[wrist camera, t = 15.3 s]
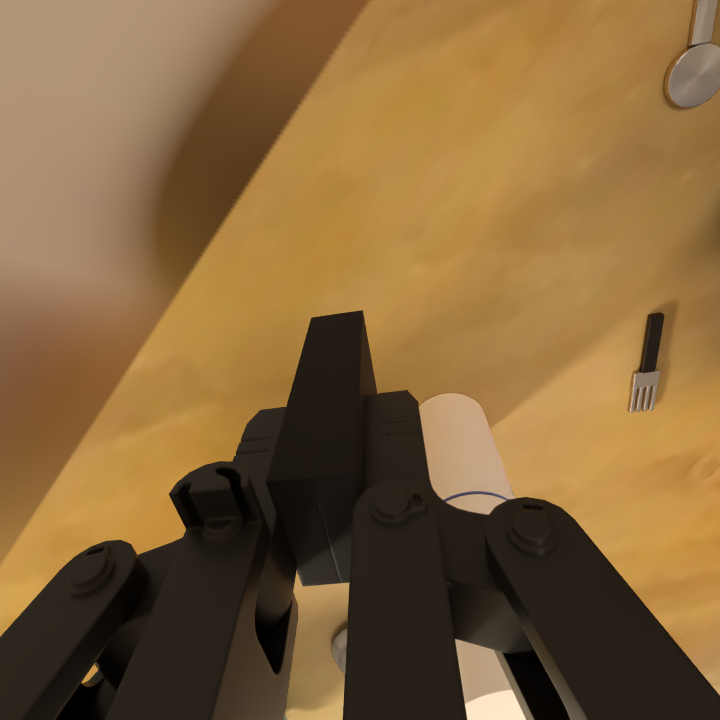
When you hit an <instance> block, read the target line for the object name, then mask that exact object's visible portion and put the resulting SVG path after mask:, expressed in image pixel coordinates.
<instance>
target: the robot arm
mask: <svg viewBox="0 0 720 720" xmlns="http://www.w3.org/2000/svg"><path fill="white" fill-rule="evenodd" d="M169 496H170V498H171V500H172V502H173V504H174V506H175V508H176V510H177V512H178V514H179V516H180V518H181V520H182V522H183V524H184V525H185V527H186V532H185V534H184V536H183V538H181V539H178V540H176V541H174V542H172V543H169V544H166V545H164V546H161V547H158V548H155V549H153V550H150V551H147V552H144V553H142V554H139V555H137V554H136V552H135V550H134V549H133V547H132V545H131V544H129V543H127V542H125V541H122V540H113V541H105V542H102V543H100V544H97V545H94V546H91V547H90V548H88V549H86V550H85V551H83V552H81V553H80V554H78V555H77V556H75V557H74V558H73V559H72V560H71V561H69V562H68V563H67V564H66V565H65V566H64V567H63V568H62V569H61V570H60V571H59V572H58V573H57V574H56V575H55V576H54V578H53V579H52V580H51V581H50V582H49V583H48V584H47V585H46V587H45V588H44V589H43V590H42V591H41V592H40V593H39V594H38V595H37V597H36V598H35V599H34V600H33V601H32V602H31V603H30V604H29V606H28V607H27V608H26V609H25V610H24V611H23V612H22V613H21V614H20V616H19V617H18V618H17V619H16V620H15V621H14V622H13V623H12V625H11V626H10V627H9V628H8V629H7V630H6V631H5V632H4V633H3V635H2V636H1V637H0V720H284V715H285V707H286V700H287V693H288V686H289V679H290V672H291V665H292V657H293V650H294V643H295V636H296V629H297V622H298V604H297V601H296V599H295V596H294V593H293V589H294V582H295V576H296V570H297V572H298V575H299V577H300V580H301V583H302V586H313V585H325V584H337V583H349V582H350V585H349V605H348V625H347V646H346V666H345V687H344V707H343V720H467V714H466V708H465V701H464V695H463V688H462V682H461V675H460V668H459V662H458V655H457V649H456V642H455V639H457V640H461V641H464V642H468V643H471V644H475V645H478V646H482V647H486V648H489V649H493V650H494V652H495V654H496V656H497V658H498V660H499V663H500V665H501V667H502V669H503V671H504V673H505V675H506V678H507V680H508V682H509V684H510V686H511V688H512V690H513V693H514V695H515V697H516V699H517V701H518V703H519V705H520V708H521V710H522V712H523V714H524V716H525V718H526V720H720V695H719V694H718V693H717V692H716V690H715V689H714V688H713V687H712V686H711V684H710V683H709V682H708V681H707V680H706V678H705V677H704V676H703V675H702V673H701V672H700V671H699V670H698V669H697V667H696V666H695V665H694V664H693V663H692V661H691V660H690V659H689V658H688V657H687V655H686V654H685V653H684V652H683V650H682V649H681V648H680V647H679V646H678V644H677V643H676V642H675V641H674V640H673V638H672V637H671V636H670V635H669V633H668V632H667V631H666V630H665V629H664V627H663V626H662V625H661V624H660V623H659V621H658V620H657V619H656V618H655V616H654V615H653V614H652V613H651V612H650V610H649V609H648V608H647V607H646V606H645V604H644V603H643V602H642V601H641V599H640V598H639V597H638V596H637V595H636V593H635V592H634V591H633V590H632V589H631V587H630V586H629V585H628V584H627V583H626V581H625V580H624V579H623V578H622V576H621V575H620V574H619V573H618V572H617V570H616V569H615V568H614V567H613V566H612V564H611V563H610V562H609V561H608V559H607V558H606V557H605V556H604V555H603V553H602V552H601V551H600V550H599V549H598V547H597V546H596V545H595V544H594V542H593V541H592V540H591V539H590V538H589V536H588V535H587V534H586V533H585V532H584V530H583V529H582V528H581V527H580V525H579V524H578V523H577V522H576V521H575V519H574V518H572V517H571V516H570V515H569V514H568V513H567V512H565V511H564V510H563V509H562V508H561V507H559V506H556V505H554V504H552V503H550V502H548V501H545V500H541V499H535V498H528V497H523V498H516V499H509V500H507V501H505V502H503V503H501V504H499V505H497V506H495V508H494V509H493V510H492V511H491V513H490V514H489V515H487V514H481V513H475V512H470V511H466V510H462V509H458V508H456V507H454V506H452V505H450V504H448V503H446V502H445V501H444V500H443V499H441V498H440V497H439V496H438V495H437V493H436V492H435V491H434V489H433V487H432V484H431V481H430V476H429V470H428V463H427V457H426V450H425V444H424V437H423V431H422V424H421V418H420V411H419V405H418V401H417V400H416V399H415V398H414V397H413V396H412V395H411V394H410V393H409V392H408V391H407V390H404V391H396V392H388V393H380V394H377V389H376V383H375V378H374V372H373V366H372V360H371V355H370V349H369V343H368V338H367V332H366V326H365V321H364V315H363V310H361V311H354V312H348V313H341V314H334V315H327V316H320V317H313V318H311V321H310V324H309V328H308V332H307V335H306V339H305V342H304V346H303V350H302V353H301V357H300V360H299V364H298V367H297V371H296V375H295V378H294V382H293V385H292V389H291V393H290V396H289V400H288V403H287V407H280V408H272V409H264V410H260V411H259V412H258V413H257V414H256V415H255V416H254V417H253V418H252V419H251V420H250V421H249V423H248V424H247V425H246V428H245V430H244V433H243V435H242V438H241V443H239V446H238V448H237V451H236V456H234V459H233V461H232V462H225V461H219V462H215V463H211V464H207V465H204V466H202V467H200V468H198V469H196V470H194V471H192V472H190V473H189V474H187V475H186V476H185V477H184V478H182V479H181V480H180V481H178V482H177V484H176V485H175V486H174V488H173V489H172V490H171V492H170V493H169ZM94 664H95V666H96V667H97V668H98V669H99V670H98V671H97V672H96V673H95V675H94V676H93V677H92V678H91V679H90V680H89V681H87V682H85V683H83V684H82V683H81V682H82V680H83V679H84V678H85V676H86V675H87V673H88V672H89V670H90V669H91V667H92V666H93V665H94Z"/></svg>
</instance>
